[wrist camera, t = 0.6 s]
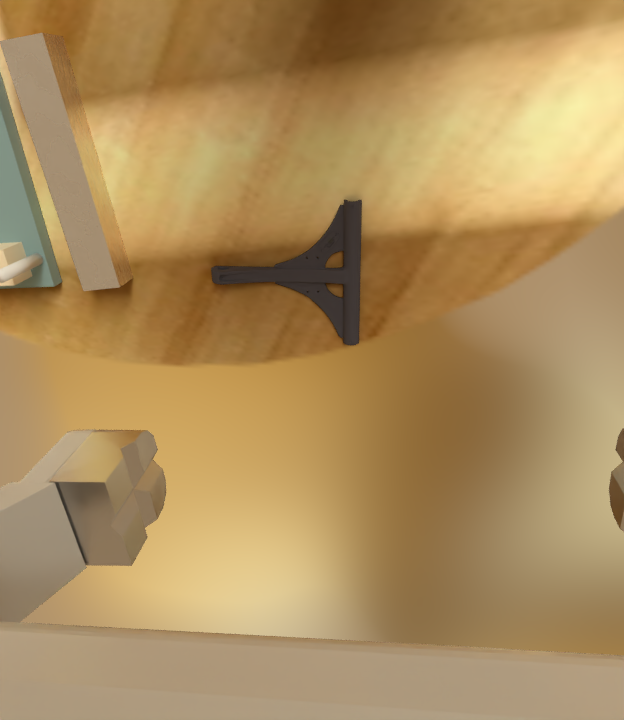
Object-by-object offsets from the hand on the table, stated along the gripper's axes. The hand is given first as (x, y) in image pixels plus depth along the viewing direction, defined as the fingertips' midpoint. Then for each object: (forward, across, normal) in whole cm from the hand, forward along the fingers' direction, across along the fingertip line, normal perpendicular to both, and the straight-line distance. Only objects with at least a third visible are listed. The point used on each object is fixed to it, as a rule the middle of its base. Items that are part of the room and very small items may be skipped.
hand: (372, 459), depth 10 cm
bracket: (+44, +10, +10) cm, 47 cm away
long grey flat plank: (+44, +29, -2) cm, 53 cm away
